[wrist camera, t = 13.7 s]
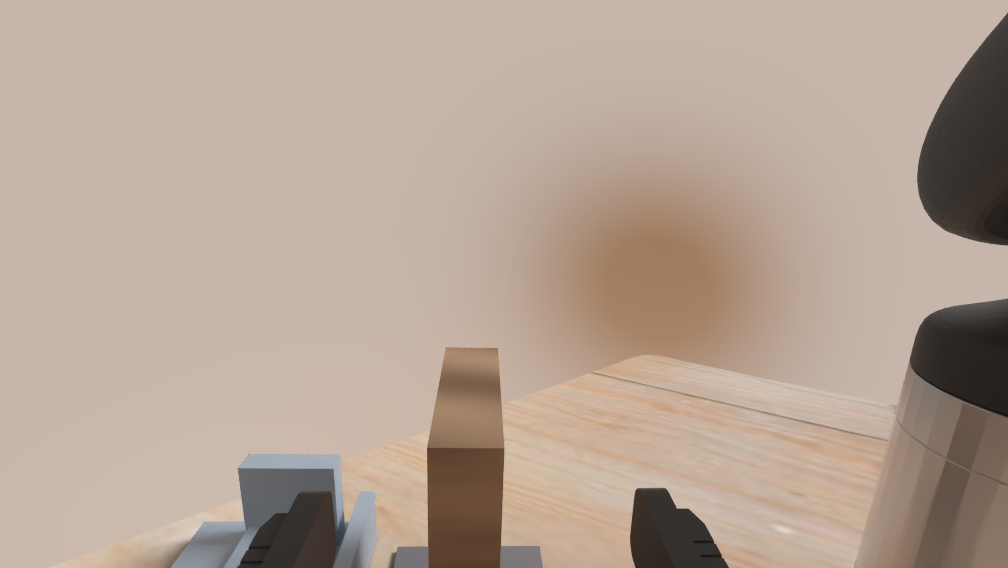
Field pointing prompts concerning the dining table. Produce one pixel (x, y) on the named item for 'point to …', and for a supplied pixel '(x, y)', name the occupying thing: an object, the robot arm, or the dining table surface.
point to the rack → (284, 511)
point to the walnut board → (466, 462)
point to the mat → (515, 561)
